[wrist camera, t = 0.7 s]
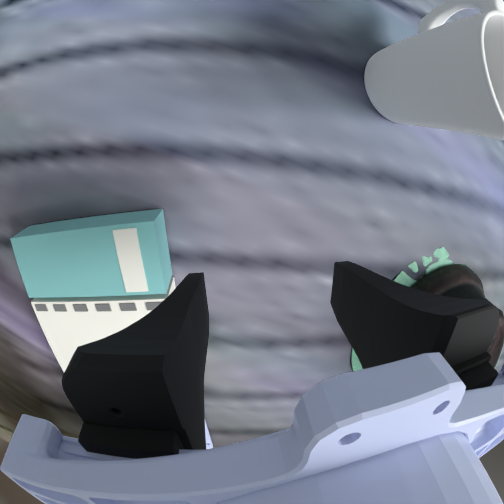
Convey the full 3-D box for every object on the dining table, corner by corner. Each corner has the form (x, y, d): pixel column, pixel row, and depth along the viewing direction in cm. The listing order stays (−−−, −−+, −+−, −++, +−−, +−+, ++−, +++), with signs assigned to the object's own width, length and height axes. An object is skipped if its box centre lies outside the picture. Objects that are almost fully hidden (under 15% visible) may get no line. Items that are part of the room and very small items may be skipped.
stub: (172, 273, 22) (166, 294, 19) (44, 280, 21) (28, 298, 18) (163, 208, 20) (153, 221, 17) (29, 225, 19) (9, 239, 16)
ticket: (195, 382, 27) (194, 408, 24) (89, 379, 26) (80, 401, 23) (173, 276, 22) (167, 299, 19) (47, 282, 21) (30, 302, 18)
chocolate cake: (476, 344, 31) (511, 383, 23) (359, 408, 32) (384, 464, 24) (491, 218, 23) (552, 252, 15) (337, 290, 24) (384, 364, 16)
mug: (423, 139, 19) (543, 166, 8) (353, 111, 18) (477, 109, 7) (435, 36, 16) (541, 17, 5) (369, 2, 15) (468, -55, 4)
